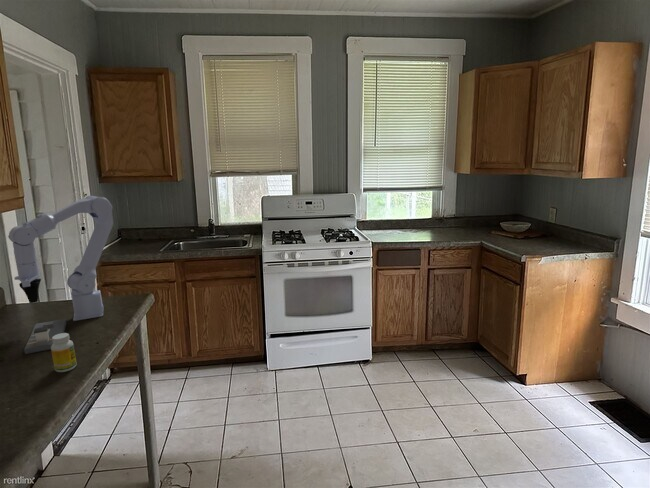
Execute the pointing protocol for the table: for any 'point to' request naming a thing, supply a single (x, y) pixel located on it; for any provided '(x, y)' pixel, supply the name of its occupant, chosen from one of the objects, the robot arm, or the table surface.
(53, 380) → the table surface
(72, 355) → the supplement bottle
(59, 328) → the console
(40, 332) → the fader tab
